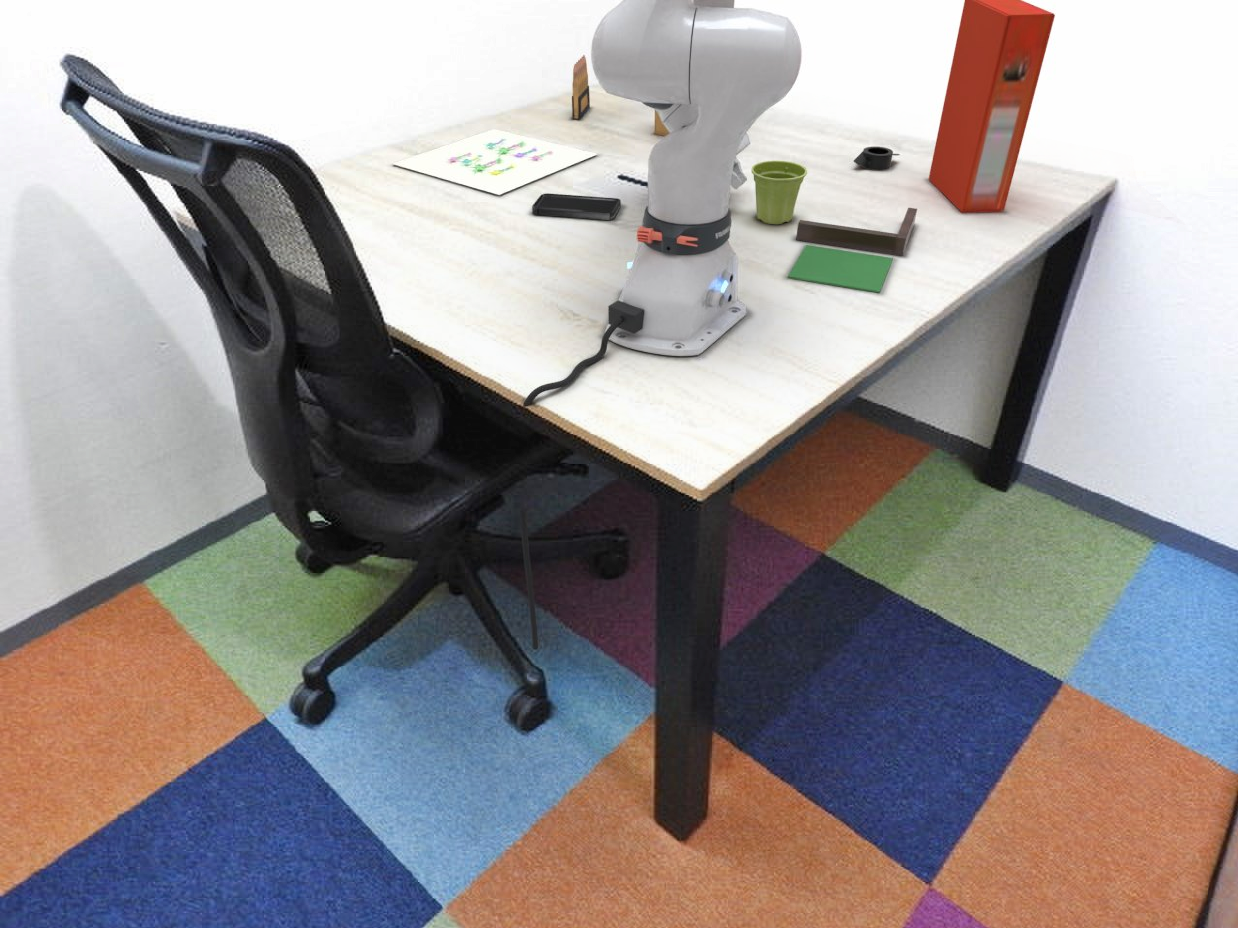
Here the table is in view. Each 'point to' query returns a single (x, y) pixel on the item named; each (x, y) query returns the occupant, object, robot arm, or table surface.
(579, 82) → the ammunition clip
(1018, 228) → the table surface
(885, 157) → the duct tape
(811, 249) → the green cloth
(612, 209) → the phone
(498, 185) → the printed paper
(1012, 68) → the file binder
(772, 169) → the plant pot
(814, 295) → the table surface
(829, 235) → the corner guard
